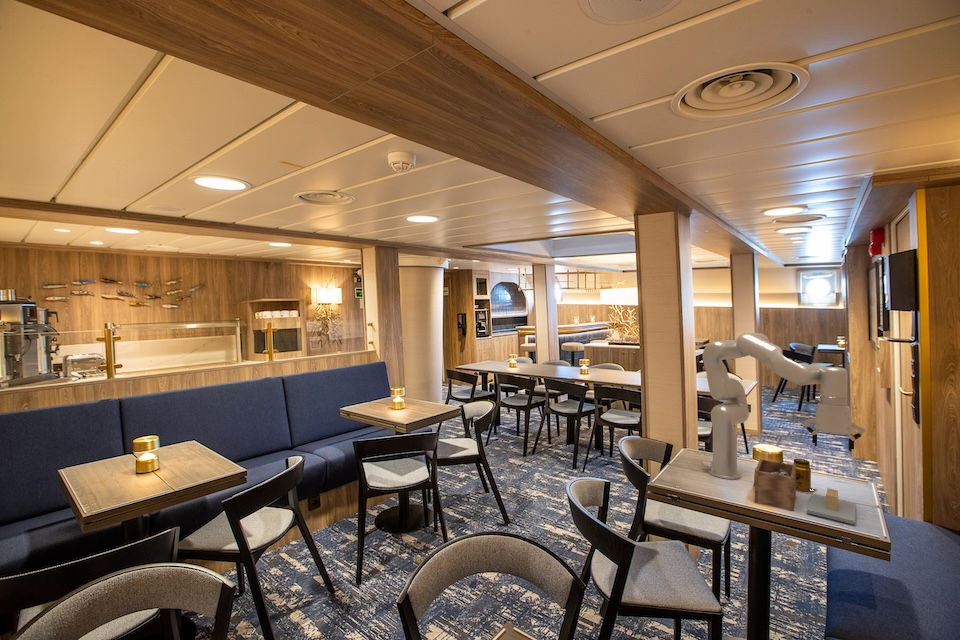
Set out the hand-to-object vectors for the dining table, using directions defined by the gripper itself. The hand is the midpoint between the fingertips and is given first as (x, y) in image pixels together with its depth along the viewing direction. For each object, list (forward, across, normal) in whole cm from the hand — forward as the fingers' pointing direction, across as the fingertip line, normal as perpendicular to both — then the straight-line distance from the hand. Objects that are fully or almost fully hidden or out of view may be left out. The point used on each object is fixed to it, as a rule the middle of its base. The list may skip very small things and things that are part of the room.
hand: (832, 448), depth 156 cm
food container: (+23, -16, 0) cm, 28 cm away
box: (+23, -17, 0) cm, 29 cm away
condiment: (+23, -9, +19) cm, 31 cm away
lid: (+23, 0, 0) cm, 23 cm away
